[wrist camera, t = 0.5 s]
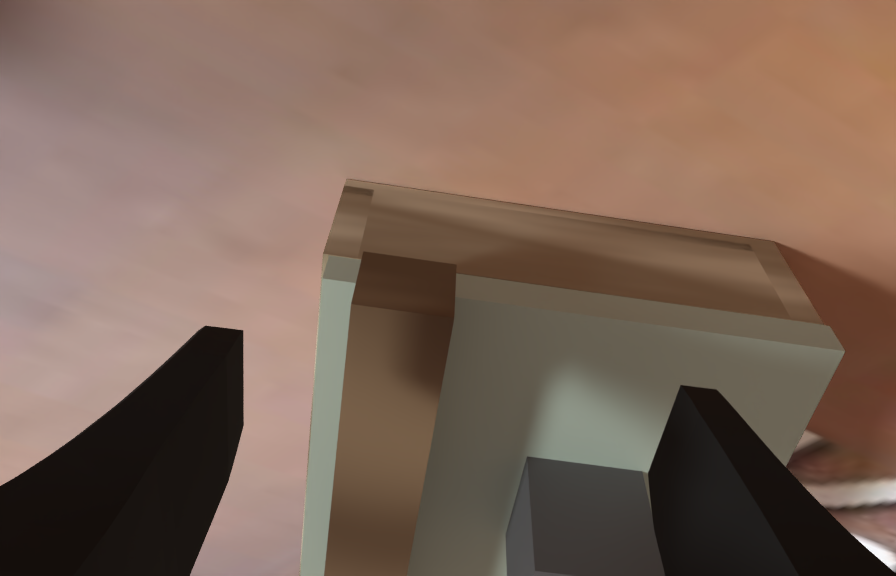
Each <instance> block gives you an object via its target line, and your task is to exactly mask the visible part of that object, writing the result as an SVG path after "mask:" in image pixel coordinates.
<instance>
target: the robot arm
mask: <svg viewBox="0 0 896 576" xmlns="http://www.w3.org/2000/svg"><path fill="white" fill-rule="evenodd" d="M243 425H244V421H243V330H236V329H228V328H220V327H211V326H204V327H203V328H201V329H200V330H199V331H198V332H197V333H195V334H194V335H193V336H192V337H191V338H190V339H189V340H188V341H187V342H186V343H185V344H184V345H183V346H182V347H181V348H180V349H179V350H178V351H177V352H176V353H175V354H173V355H172V356H171V357H170V358H169V359H168V360H167V361H166V362H165V363H164V364H163V365H162V366H161V367H159V368H158V369H157V370H156V371H155V372H154V373H153V374H152V375H151V376H150V377H148V378H147V379H146V380H145V381H144V382H143V383H141V384H140V385H139V386H138V387H137V388H136V389H135V390H133V391H132V392H131V393H130V394H129V395H128V396H126V397H125V398H124V399H123V400H122V401H121V402H119V403H118V404H117V405H116V406H115V407H113V408H112V409H111V410H110V411H108V412H107V413H106V414H104V415H103V416H102V417H101V418H99V419H98V420H97V421H95V422H94V423H93V424H92V425H90V426H89V427H88V428H86V429H85V430H84V431H83V432H81V433H80V434H79V435H77V436H76V437H75V438H73V439H72V440H71V441H69V442H68V443H66V444H65V445H64V446H62V447H61V448H59V449H58V450H56V451H55V452H54V453H52V454H51V455H49V456H48V457H46V458H45V459H43V460H42V461H40V462H39V463H37V464H36V465H34V466H33V467H31V468H29V469H28V470H26V471H25V472H23V473H22V474H20V475H19V476H17V477H15V478H14V479H12V480H10V481H8V482H7V483H5V484H3V485H1V486H0V576H190V573H191V571H192V569H193V566H194V564H195V561H196V559H197V556H198V554H199V552H200V549H201V547H202V544H203V542H204V540H205V537H206V535H207V532H208V530H209V527H210V525H211V523H212V520H213V518H214V515H215V513H216V510H217V508H218V505H219V503H220V500H221V498H222V496H223V493H224V491H225V488H226V485H227V483H228V480H229V477H230V473H231V470H232V466H233V463H234V459H235V456H236V452H237V448H238V444H239V440H240V437H241V433H242V429H243ZM648 481H649V491H650V501H651V509H652V517H653V525H654V531H655V536H656V540H657V544H658V548H659V552H660V556H661V560H662V564H663V568H664V573H665V576H896V573H894V572H893V571H892V570H891V569H890V568H889V567H888V566H886V565H885V564H884V563H883V562H882V561H881V560H879V559H878V558H877V557H876V556H875V555H874V554H872V553H871V552H870V551H869V550H868V549H867V548H866V547H865V546H863V545H862V544H861V543H860V542H859V541H858V540H857V539H856V538H855V537H854V536H853V535H851V534H850V533H849V532H848V531H847V530H846V529H845V528H844V527H843V526H842V525H841V524H840V523H839V522H838V521H837V520H836V519H835V518H834V517H833V516H832V515H831V514H830V513H829V512H828V511H827V510H826V509H825V508H824V507H823V506H822V505H821V504H820V503H819V502H818V501H817V500H816V499H815V498H814V497H813V496H812V495H811V494H810V493H809V492H808V491H807V490H806V488H805V487H804V486H803V485H802V484H801V483H800V482H799V481H798V480H797V479H796V478H795V477H794V476H793V475H792V473H791V472H790V471H789V470H788V469H787V468H786V467H785V466H784V465H783V464H782V462H781V461H780V460H779V459H778V458H777V457H776V456H775V455H774V453H773V452H772V451H771V450H770V449H769V448H768V447H767V446H766V444H765V443H764V442H763V441H762V440H761V439H760V438H759V436H758V435H757V434H756V433H755V432H754V431H753V430H752V428H751V427H750V426H749V425H748V424H747V423H746V421H745V420H744V419H743V418H742V417H741V416H740V415H739V413H738V412H737V411H736V410H735V409H734V408H733V407H732V405H731V404H730V403H729V402H728V401H727V400H726V399H725V398H724V397H723V395H722V394H721V393H720V392H719V391H718V390H717V389H709V388H701V387H693V386H685V385H680V388H679V391H678V393H677V396H676V399H675V401H674V404H673V407H672V410H671V412H670V415H669V418H668V420H667V423H666V426H665V428H664V431H663V434H662V436H661V439H660V442H659V445H658V447H657V450H656V453H655V455H654V458H653V461H652V463H651V466H650V469H649V472H648Z"/></svg>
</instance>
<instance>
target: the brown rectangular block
mask: <svg viewBox="0 0 896 576" xmlns="http://www.w3.org/2000/svg"><path fill="white" fill-rule="evenodd" d="M456 268H457V264H450V263H442V262H435V261H428V260H421V259H414V258H407V257H400V256H393V255H386V254H379V253H372V252H365V251H363V255H362V259H361V263H360V268H359V272H358V276H357V280H356V285H355V289H354V293H353V298H352V302H351V309H350V319H349V329H348V339H347V349H346V359H345V369H344V379H343V390H342V400H341V410H340V420H339V430H338V440H337V450H336V460H335V470H334V480H333V490H332V500H331V510H330V520H329V530H328V540H327V551H326V561H325V571H324V576H407V572H408V567H409V561H410V556H411V550H412V545H413V539H414V534H415V529H416V523H417V518H418V512H419V507H420V502H421V496H422V491H423V485H424V480H425V475H426V469H427V464H428V458H429V453H430V447H431V442H432V437H433V431H434V426H435V420H436V415H437V410H438V404H439V399H440V393H441V388H442V382H443V377H444V372H445V366H446V361H447V355H448V350H449V345H450V339H451V334H452V328H453V323H454V315H455V291H456Z"/></svg>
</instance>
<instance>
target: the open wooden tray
mask: <svg viewBox="0 0 896 576" xmlns="http://www.w3.org/2000/svg"><path fill="white" fill-rule="evenodd" d="M363 251H365V252H372V253H379V254H386V255H393V256H400V257H407V258H414V259H421V260H428V261H435V262H442V263H450V264H457V268H456V273H458V274H465V275H472V276H479V277H486V278H493V279H500V280H507V281H514V282H522V283H529V284H536V285H543V286H550V287H557V288H564V289H571V290H578V291H585V292H592V293H600V294H607V295H614V296H621V297H628V298H635V299H642V300H649V301H656V302H663V303H670V304H678V305H685V306H692V307H699V308H706V309H713V310H720V311H727V312H734V313H741V314H748V315H756V316H763V317H770V318H777V319H784V320H791V321H798V322H805V323H812V324H819V325H824V323H823V322H822V320H821V318H820V317H819V315H818V313H817V312H816V310H815V308H814V307H813V305H812V304H811V302H810V300H809V299H808V297H807V295H806V294H805V292H804V290H803V289H802V287H801V285H800V284H799V282H798V281H797V279H796V277H795V276H794V274H793V272H792V271H791V269H790V267H789V266H788V264H787V263H786V261H785V259H784V258H783V256H782V254H781V253H780V251H779V249H778V248H777V246H776V244H775V243H774V242H773V241H766V240H760V239H753V238H746V237H739V236H732V235H725V234H719V233H712V232H705V231H698V230H691V229H684V228H678V227H671V226H664V225H657V224H650V223H644V222H637V221H630V220H623V219H616V218H609V217H603V216H596V215H589V214H582V213H575V212H568V211H562V210H555V209H548V208H541V207H534V206H527V205H521V204H514V203H507V202H500V201H493V200H486V199H480V198H473V197H466V196H459V195H452V194H445V193H439V192H432V191H425V190H418V189H411V188H404V187H398V186H391V185H384V184H377V183H370V182H363V181H357V180H350V179H346V182H345V185H344V188H343V192H342V195H341V198H340V201H339V204H338V208H337V211H336V214H335V217H334V220H333V224H332V227H331V230H330V233H329V236H328V240H327V243H326V246H325V249H324V252H323V262H322V275H321V288H322V277H323V274H324V271H325V267H326V264H327V261H328V257H329V255H330V256H337V257H344V258H351V259H358V260H361V259H362V255H363ZM320 302H321V289H320ZM320 302H319V315H320ZM318 329H319V316H318ZM318 329H317V342H318ZM316 355H317V343H316ZM315 369H316V356H315ZM314 382H315V370H314ZM313 396H314V383H313ZM312 409H313V397H312ZM311 423H312V411H311ZM310 436H311V424H310ZM309 450H310V438H309ZM308 463H309V451H308ZM307 477H308V465H307ZM306 490H307V478H306ZM305 504H306V492H305ZM304 517H305V505H304ZM303 531H304V519H303ZM302 544H303V532H302ZM301 557H302V546H301ZM300 571H301V559H300ZM299 576H300V573H299Z"/></svg>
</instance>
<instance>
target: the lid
mask: <svg viewBox="0 0 896 576" xmlns="http://www.w3.org/2000/svg"><path fill="white" fill-rule="evenodd" d="M360 263H361V260H358V259H351V258H344V257H337V256H330V255H329V257H328V261H327V264H326V267H325V271H324V274H323V277H322V288H321V302H320V315H319V329H318V342H317V355H316V369H315V382H314V396H313V409H312V423H311V436H310V450H309V463H308V477H307V490H306V504H305V517H304V531H303V544H302V557H301V571H300V576H324V571H325V561H326V551H327V540H328V530H329V520H330V510H331V500H332V490H333V480H334V470H335V460H336V450H337V440H338V430H339V420H340V410H341V400H342V390H343V379H344V369H345V359H346V349H347V339H348V329H349V319H350V309H351V302H352V298H353V293H354V289H355V285H356V280H357V276H358V272H359V268H360ZM844 353H845V350H844V348H843V347H842V345H841V343H840V342H839V340H838V339H837V337H836V335H835V334H834V332H833V330H832V329H831V327H830V326H826V325H819V324H812V323H805V322H798V321H791V320H784V319H777V318H770V317H763V316H756V315H748V314H741V313H734V312H727V311H720V310H713V309H706V308H699V307H692V306H685V305H678V304H670V303H663V302H656V301H649V300H642V299H635V298H628V297H621V296H614V295H607V294H600V293H592V292H585V291H578V290H571V289H564V288H557V287H550V286H543V285H536V284H529V283H522V282H514V281H507V280H500V279H493V278H486V277H479V276H472V275H465V274H458V273H456V291H455V315H454V323H453V328H452V334H451V339H450V345H449V350H448V355H447V361H446V366H445V372H444V377H443V382H442V388H441V393H440V399H439V404H438V410H437V415H436V420H435V426H434V431H433V437H432V442H431V447H430V453H429V458H428V464H427V469H426V475H425V480H424V485H423V491H422V496H421V502H420V507H419V512H418V518H417V523H416V529H415V534H414V539H413V545H412V550H411V556H410V561H409V567H408V572H407V576H665V573H664V568H663V564H662V560H661V556H660V552H659V548H658V544H657V540H656V536H655V531H654V525H653V517H652V509H651V501H650V491H649V481H648V472H649V469H650V466H651V463H652V461H653V458H654V455H655V453H656V450H657V447H658V445H659V442H660V439H661V436H662V434H663V431H664V428H665V426H666V423H667V420H668V418H669V415H670V412H671V410H672V407H673V404H674V401H675V399H676V396H677V393H678V391H679V388H680V385H685V386H693V387H701V388H709V389H717V390H718V391H719V392H720V393H721V394H722V395H723V397H724V398H725V399H726V400H727V401H728V402H729V403H730V404H731V405H732V407H733V408H734V409H735V410H736V411H737V412H738V413H739V415H740V416H741V417H742V418H743V419H744V420H745V421H746V423H747V424H748V425H749V426H750V427H751V428H752V430H753V431H754V432H755V433H756V434H757V435H758V436H759V438H760V439H761V440H762V441H763V442H764V443H765V444H766V446H767V447H768V448H769V449H770V450H771V451H772V452H773V453H774V455H775V456H776V457H777V458H778V459H779V460H780V461H781V462H782V464H783V465H784V466H785V467H786V465H787V463H788V461H789V460H790V458H791V456H792V454H793V452H794V450H795V448H796V446H797V444H798V442H799V440H800V438H801V436H802V434H803V432H804V431H805V429H806V427H807V425H808V423H809V421H810V419H811V417H812V415H813V413H814V411H815V409H816V407H817V405H818V403H819V401H820V400H821V398H822V396H823V394H824V392H825V390H826V388H827V386H828V384H829V382H830V380H831V378H832V376H833V374H834V372H835V371H836V369H837V367H838V365H839V363H840V361H841V359H842V357H843V355H844Z"/></svg>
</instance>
